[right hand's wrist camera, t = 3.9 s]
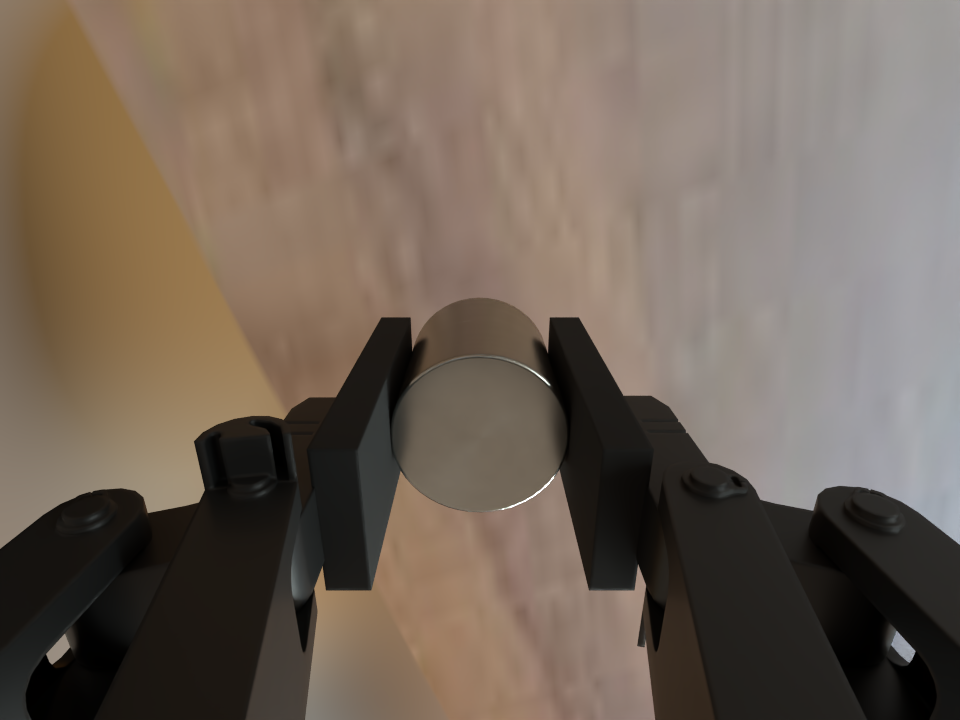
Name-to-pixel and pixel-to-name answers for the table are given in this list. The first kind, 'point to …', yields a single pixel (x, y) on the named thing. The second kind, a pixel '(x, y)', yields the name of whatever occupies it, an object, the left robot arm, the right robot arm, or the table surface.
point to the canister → (479, 409)
